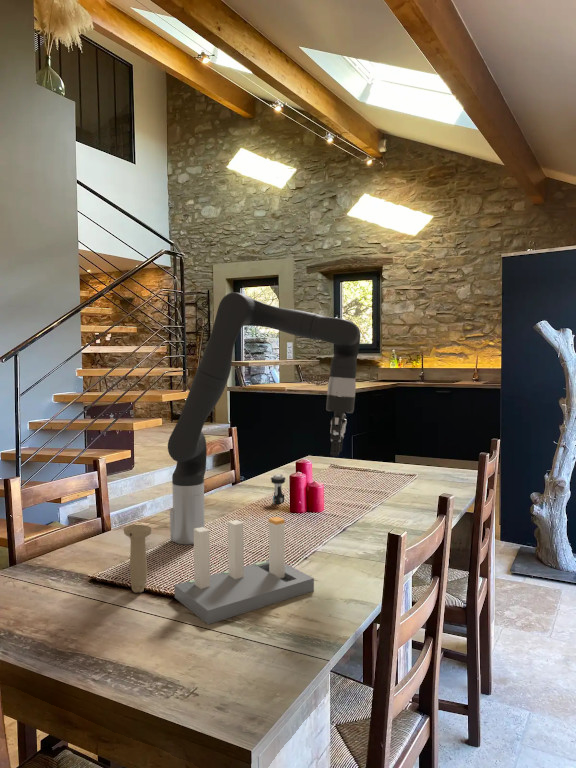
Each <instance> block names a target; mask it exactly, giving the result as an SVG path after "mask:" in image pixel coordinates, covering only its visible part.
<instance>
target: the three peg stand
mask: <svg viewBox="0 0 576 768" xmlns="http://www.w3.org/2000/svg"><path fill="white" fill-rule="evenodd" d="M227 534H228V535H227V540H228V541H227V544H228V545H227V549H228V551H227V552H228V553H227V554H228V555H227V556H228V557H227V558H228V570H225V571H222V572H217V573H215V574H211V567H210V566H211V562H210V561H211V559H210V557H211V553H210V552H211V548H210V546H211V545H210V543H211V542H210V529H208V528H204V527H200V528H195V529H194V544H193V566H194V569H193V572H194V578H193V579H192V580H188V581H184V582H180V583H175V584H174V599H176V600H177V601H178V602H180V603H181V604H182V605H183V606H185V608H187V609H188V610H190V611H191V612H192V613H193V614H194V615H196V616H197V617H198V618H199V619H200V620H201V621H202V622H204V623H206V625H212V624H214V623H217V622H221V621H224V620H226V619H231V618H234V617H235V616H240V615H242V614H245V613H248V612H251V611H255V610H257V609H261V608H263V607H268V606H270V605H273V604H276V603H280V602H282V601H286V600H290V599H292V598H295V597H298V596H301V595H305V594H308V593H311V592H313V591H314V590H315V578H314V577H312V576H310V575H309V574H307V573H305V572H303V571H301V570H299V569H297V568H295V567H293V566H291V565H289V564H287V563H285V577H284V578H281V579H279V578H278V577H276V576H274V575H272V574H270V573H269V559H266V560H263V561H260V562H259V561H258V562H256V563H252V564H247V565H244V564H245V563H244V561H245V557H244V556H245V555H244V551H245V550H244V544H245V543H244V542H245V541H244V522H242V521H240V520H238V519H235V520H229V521H228V522H227Z"/></svg>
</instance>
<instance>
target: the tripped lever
mask: <svg viewBox="0 0 576 768" xmlns="http://www.w3.org/2000/svg"><path fill="white" fill-rule="evenodd" d="M285 522H286V521H285V519H284V518H282V517H279V516H274V517H269V518H268V560H269V573H270V574H272V575H274V576H276V577H278V578H279V579H281V578H284V577H285V564H286V562H285V555H286V554H285Z"/></svg>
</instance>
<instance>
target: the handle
mask: <svg viewBox="0 0 576 768" xmlns="http://www.w3.org/2000/svg"><path fill="white" fill-rule="evenodd" d="M123 533H124V535H125V536H127V537H129V539H130V552H129V553H130V555H129V576H130V584H131V585H130V586H131V591H133V593H143V592H144V588H146V589H147V584H146V583H147V579H148V561H147V552H146V551H147V548H146V538H147V537H148V536H150V535H151V534H152V527H151V526H149V525H144V524H131V525H127V526H125V527H124V528H123Z"/></svg>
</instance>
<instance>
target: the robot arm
mask: <svg viewBox="0 0 576 768" xmlns="http://www.w3.org/2000/svg"><path fill="white" fill-rule="evenodd" d="M245 326H247V327H248V326H249V327H261V328H262V327H264V328H267V329H268V328H269V329H273V330H277V331H279V332H283V333H286V334H289V335H293V336H296V337H300V338H304V339H308V340H312V341H313V340H314V341H322V342H325V343H326V342H327V343H330V344H334V351H333V356H332V357H331V362H330V372H329V380H328V383H327V395H326V403H325V405H326V407H325V410H326V411H327V412H333V413H334V414H333V416H331V417H332V418H331V420H330V436H329V439H330V442H331V443H330V445H331V446H330V453H329V454H330V456H332V457H339V456H340V453H341V452H342V450H343V441H344V437H345V433H346V427H347V423H348V422H347V419H346V418H347V416H346V414H353V413H354V411H355V402H356V389H357V387H356V386H357V385H356V383H357V382H356V376H357V375H356V374H357V366H358V365H357V359H358V356H359V350H360V343H361V342H360V341H361V330H360V327H358V325H357V324H356V323H355V322H353V321H351V320H349V319H344V318H337V317H330V316H325V315H321V314H318V313H314V312H309V311H308V312H307V311H303V310H300V309H291V308H284V307H278V306H274V305H270V304H267V303H265V302H262V301H259V300H257V299H254V298H252V297H250V296H249V295H248V294H244V293H240V292H229V293H228V294H226V295H224V296H223V297H222V299H221V300H220V302H219V304H218V307H217V311H216V314H215V319H214V323H213V326H212V329H211V333H210V337H209V338H208V342H207V344H206V346H205V349H204V352H203V354H202V356H201V359H200V362H199V364H198V366H197V368H196V372H195V374H194V377H193V380H192V383H191V386H190V389H189V391H188V394H187V396H186V401H185V402H184V406H183V409H182V411H181V414H180V416H179V419H178V420H177V421H176V424H175V426H174V428H173V431H172V432H171V434H170V436H169V438H168V442H167V451H168V454H169V456H170V458H171V459H172V460H173V461H175V462H176V467H175V469H174V470H173V472H172V475H171V476H172V477H171V480H172V481H171V484H172V486H171V487H172V491H171V492H172V508H170V510H169V513H170V514H169V526H170V527H169V529H170V533H169V535H170V542H172V543H175V544H178V545H194V529H195V528H200V527H204V528H205V525H206V524H205V474H206V470H207V449H208V448H207V439H206V437H205V435H204V432H203V431H202V430H203V427H204V425H205V423H206V421H207V419H208V417H209V415H210V414H211V413H212V411H213V410H214V408H215V406H217V404H218V402H219V400H220V399H221V397H222V396H223V393H224V392H225V389H226V386H227V383H228V381H229V379H230V378H229V377H230V376H231V375H230V374H231V370H232V364H233V362H232V361H233V351H234V347H235V344H236V341H237V338H238V336H239V334H240V332H241V329H242V328H243V327H245Z"/></svg>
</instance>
